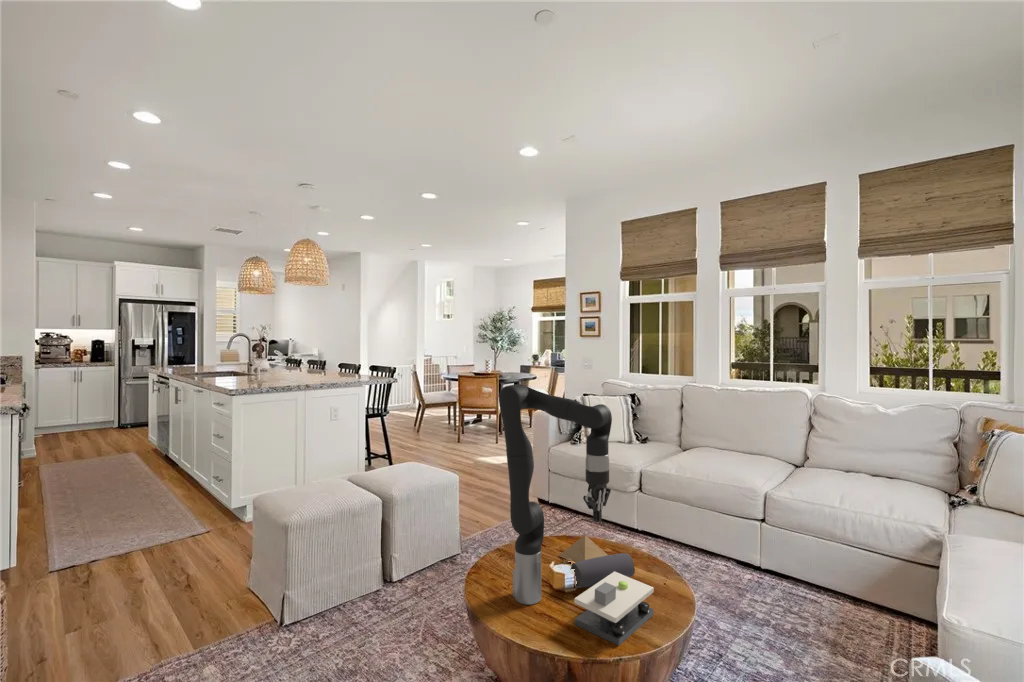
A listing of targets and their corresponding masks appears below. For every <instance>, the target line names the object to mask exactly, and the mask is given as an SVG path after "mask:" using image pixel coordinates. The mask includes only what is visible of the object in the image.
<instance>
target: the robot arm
mask: <svg viewBox="0 0 1024 682" xmlns="http://www.w3.org/2000/svg"><path fill="white" fill-rule="evenodd" d="M498 404H499V410H500V414H501V419H502V424H503V425H502V426H503V431H504V440H505V448H506V449H505V451H506V452H505V453H506V461H507V469H508V479H509V493H510V495H509V497H510V498H509V499H510V504H509V505H510V506H509V507H510V509H509V510H510V511H509V514H510V516H509V517H510V522H511V527H512V528H513V530H514V531H515V532H516V533H517V534H518V537H517V538H516V540H515V542H514V569H513V570H512V597H513V598H515V600H516V602H517V603H519V604H522V605H534V604H537V603H539V602H541V600H542V545H543V542H544V538H545V537H544V536H545V535H544V534H545V533H544V532H545V516H544V515H545V514H544V511H543V508H542V507H541V506H540V504H538V503H537V502H535V501H530V486H531V482H532V479H533V474H534V468H535V465H534V464H535V461H534V451H533V446H532V443H531V441H530V440H529V438H528V436H527V433H526V432H525V430H524V428H523V425H522V417H521V411H522V410H525V409H526V410H527V409H530V410H531V409H532V410H539V411H542V412H544V413H546V414H548V415H550V416H552V417H554V418H556V419H560V420H565V421H569V422H574V423H576V424H577V425H579V426H582V427H584V428H587V429H590V433H589V434H588V436H587V437H586V444H585V447H586V449H585V450H586V452H585V454H586V455H585V482H586V483H587V485H588V487H587V494H586V495H583V500H584V502H585V505H586V506H587V508H588V509H589V510H592V520H593V522H596V523H599V522H601V521H602V520H603V519H602V518H603V517H602V516H603V514H602V510H603V508H604V507H606V505H607V502H608V499H609V498H610V494H611V492H612V489H611V488H609V487H607V485H608V484H609V483H610V458H609V456H610V455H609V437H610V434H611V428H612V424H613V423H612V421H613V417H612V412H611V410H610V408H609V407H608V406H607V405H605V404H595V405H593V406H591V405H585V404H582V402H580V401H578V400H576V399H570V398H565V397H561V396H555V395H552V394H547V393H545V392H541V391H539V390H536V389H534V388H531V387H529V386H526V385H523V384H520V383H518V384H517V383H516V384H511V385H510V384H509V385H506V386H504V387H502V388H501V389H500V391H499V395H498Z"/></svg>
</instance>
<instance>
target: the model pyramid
mask: <svg viewBox="0 0 1024 682" xmlns="http://www.w3.org/2000/svg"><path fill="white" fill-rule="evenodd" d="M607 555H608V553H606V552H605V551H604V550H603V549H602V548H600V546H599V545H597V544H596V542H594V541H592V540H591V539H590V538H589V537H588V535H586V534H584V535H582V537H580V538H579V539H578V540H577V541H575V542H574V543H572V544H571V545H570V546H568V547H567V548H566V549H565V550H563V551H562V552H561V553H560V554H558V555H557V557H558V556H561V557H563V558H565V559H566V560H567V561H574V562H579V561H583V560H587V559H592V558H596V557H601V556H607ZM566 560H565V561H566ZM567 561H566V562H567Z"/></svg>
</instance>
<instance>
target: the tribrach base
mask: <svg viewBox="0 0 1024 682" xmlns="http://www.w3.org/2000/svg"><path fill="white" fill-rule="evenodd" d="M654 611H655V610H654V608H652V607H650V604H649V602H646V601H642V602H641V603H640V604H638V605H637V606H636V607H635V608H634V609H632V610H631V611H630V612H629V613H627V614H626V615H625V616H624V617H623V618H621V619H620V620H619V621H618V622H617V623H614V622H612V621H610V620H608V619H606V618H604V617H602V616H600V615H598V614H596V613H594V612H592V611H590V610H588V609H586V610H585V611H583V612H582V613H580V614H579V615H578V616H576V617H575V618H574V625H575V626H577V627H579V628H581V629H583V630H584V631H588V632H589V633H591V634H593V635H595V636H597V637H599V638H601V639H604V640H605V641H607V642H610V643H612V644H614V645H615V646H618V647H620V645H621V644H623V643H624V642H625V641H626V640H627V639H629V637H630V636H632V635H633V634H634V633H635V632H636V631H637V630H639V628H641V627H642V626H643V625H644V624H645V623H646V622H647V621H649V620H650V619H651V618H652V617H653V616H654Z"/></svg>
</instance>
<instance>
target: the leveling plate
mask: <svg viewBox="0 0 1024 682" xmlns="http://www.w3.org/2000/svg"><path fill="white" fill-rule="evenodd" d="M654 589H655V588H654V587H653V586H650V585H649V584H646V583H644V582H641V581H639V580H636V579H635V578H632V577H627V576H624V575H622V574H620V573H617V572H615V571H614V572H613V573H611V574H610V575H608V576H607V577H605V578H604V579H602V580H601V581H600V582H598V583H597V584H595V585H594V586H592V587H588V589H586V590H585V591H583V592H582V593H580V594H579V595H577V596H576V597H575V598H574V604H575V605H578V606H580V607H582V608H583V609H586V610H587V609H588V610H590V611H592V612H594V613H596V614H598V615H600V616H602V617H604V618H606V619H608V620H610V621H612V622H614V623H617V622H618V621H619V620H620V619H621V618H623V617H624V616H625V615H626V614H627V613H629V612H630V611H631V610H632V609H634V608H635V607H636V606H637V605H638V604H640V603H641V602H644V600H646V599H647V598H648V597H650V595H652V594H653V593H654Z"/></svg>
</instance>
